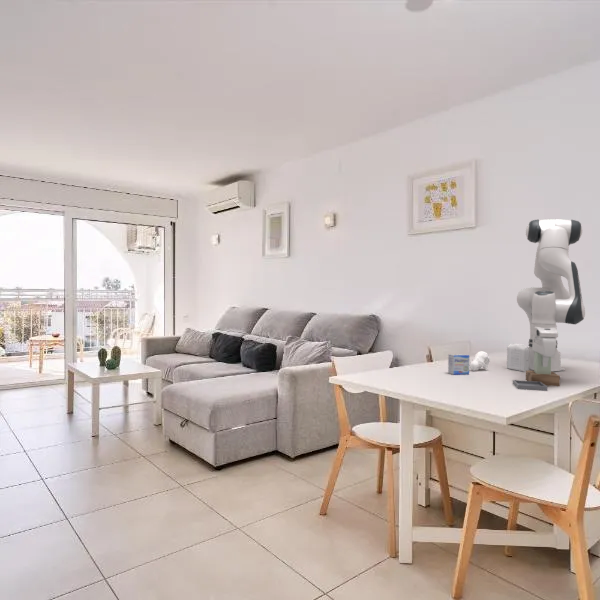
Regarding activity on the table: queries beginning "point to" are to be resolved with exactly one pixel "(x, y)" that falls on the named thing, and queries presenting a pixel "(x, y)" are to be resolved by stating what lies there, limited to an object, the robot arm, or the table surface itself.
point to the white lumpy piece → (480, 361)
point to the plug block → (538, 364)
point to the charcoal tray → (529, 385)
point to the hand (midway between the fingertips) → (542, 365)
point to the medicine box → (458, 364)
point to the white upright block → (518, 357)
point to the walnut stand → (543, 378)
